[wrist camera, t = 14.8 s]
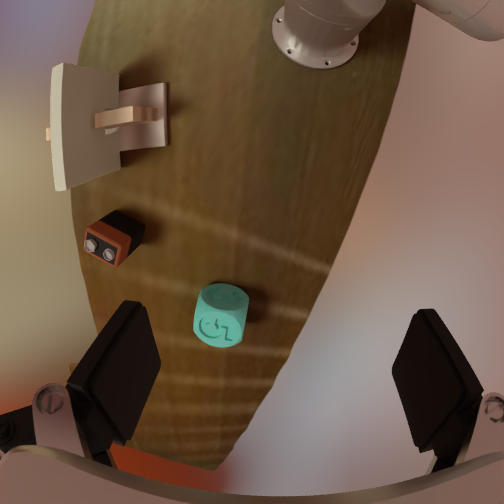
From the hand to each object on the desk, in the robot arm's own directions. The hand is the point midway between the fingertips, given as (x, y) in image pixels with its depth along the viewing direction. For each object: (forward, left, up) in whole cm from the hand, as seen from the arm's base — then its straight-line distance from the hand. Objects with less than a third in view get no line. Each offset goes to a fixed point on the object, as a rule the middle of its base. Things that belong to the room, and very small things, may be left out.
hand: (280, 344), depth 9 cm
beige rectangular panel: (+11, -25, -33) cm, 43 cm away
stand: (+11, -25, -34) cm, 44 cm away
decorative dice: (+22, +10, -35) cm, 42 cm away
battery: (+24, -12, -34) cm, 44 cm away
